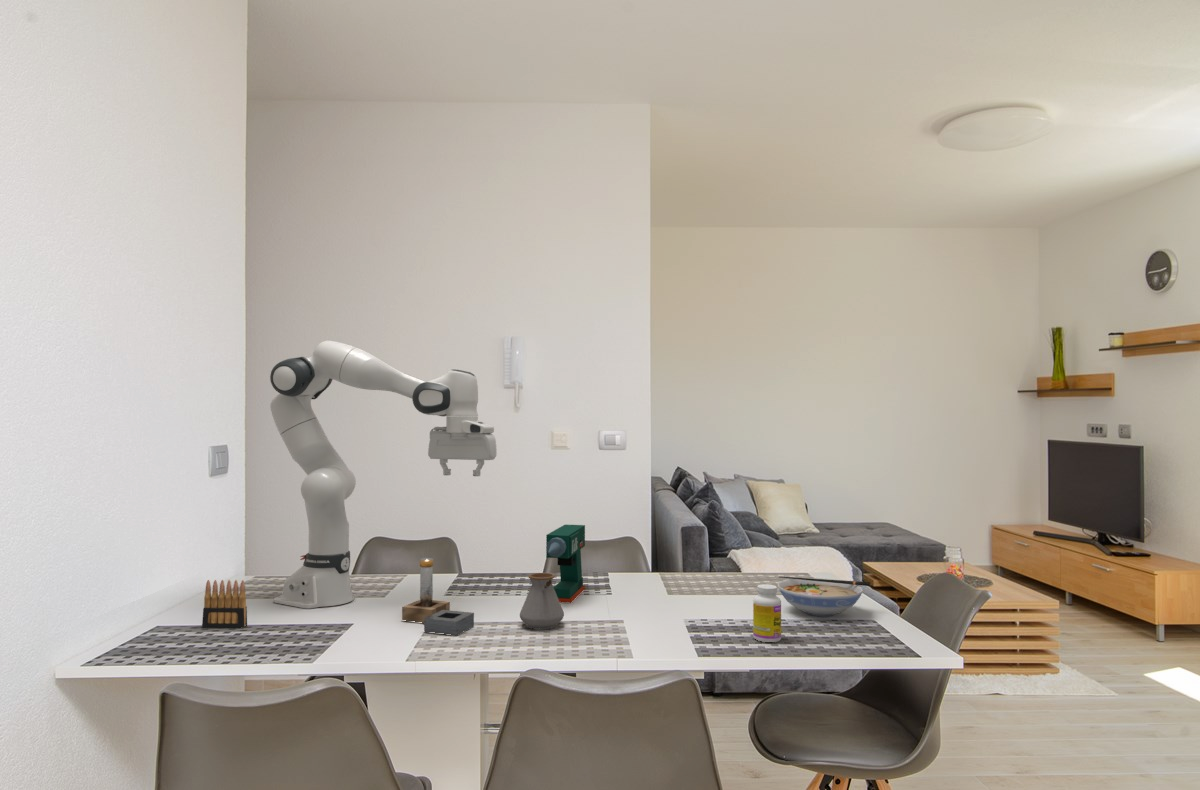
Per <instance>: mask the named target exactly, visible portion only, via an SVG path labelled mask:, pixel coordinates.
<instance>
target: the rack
mask: <svg viewBox="0 0 1200 790" xmlns="http://www.w3.org/2000/svg"><path fill="white" fill-rule="evenodd" d="M401 609H402V610H401V621H402V620H406V621H415V622H422V623H424V618H426V617H429V616H431V615H433V614H435V613H437V612H439V611H441V610H451V601H445V600H433V599H432V607H420V599H418V600H415V601H412V602H411V603H408V604H405V605H403V606H402V608H401Z"/></svg>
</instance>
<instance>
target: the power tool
mask: <svg viewBox="0 0 1200 790" xmlns="http://www.w3.org/2000/svg"><path fill="white" fill-rule="evenodd" d="M585 539H586V525H585V524H564V525H562V526H560V527H557V528H556V529H554V530H553V531H551V532H549V533H547V534H546V540H545V541H546V542H545V544H546V546H545V549H546V551H545V553H546V555H545V556H546V557H545V558H547V559H549V558H550V559H557V566H559V575H560V581H559V582H558V583H556V584H554V585H553V587H554V590H555V592H556V595H557V597H558V600H559V602H560V603H562V602H570V603H569V604H572V603H573V602H574V601H575V600H576V599H577V598H578V597H579V596H578V595H579V594H580V593H581V592H582V591H583V590H584V589H585V590H586V585H585V584H584V577H583V573H582V572H583V571H582V554H581V552H582V551H581V550H582V549H583V548H584V547H585V546H586V540H585ZM583 592H584V591H583ZM583 592H582V593H583ZM582 593H581V594H582ZM581 594H580V595H581ZM577 596H578V597H577ZM576 597H577V598H576ZM575 598H576V599H575ZM574 599H575V600H574ZM573 600H574V601H573ZM572 601H573V602H572ZM571 602H572V603H571Z"/></svg>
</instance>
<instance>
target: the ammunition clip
mask: <svg viewBox="0 0 1200 790" xmlns="http://www.w3.org/2000/svg"><path fill="white" fill-rule="evenodd" d="M220 581H221V582H220V583H219V588H218V582H217V580H216V579H214V581H213V584H212V589H211V581H210V579H208V580H207V581H206V583H205V591H204V592H205V593H204V600H203V602H204V603H203V604H204V605H203V609H202V622H201V629H242V628H241V627H245V626H246V627H248V609H247V608H248V607H247V596H246V583H245V580H243V579H242V580H241V581H240V587H239V584H238V580H237V579H235V580H234V583H233V587H232V582H231V580H230V579H228V581H227V584H226V587H225V581H224V580H223V579H221V580H220ZM218 589H219V590H218ZM225 590H226V591H225ZM232 590H233V591H232ZM246 627H245V628H246Z"/></svg>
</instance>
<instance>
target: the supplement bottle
mask: <svg viewBox="0 0 1200 790" xmlns="http://www.w3.org/2000/svg"><path fill="white" fill-rule="evenodd" d="M756 589H757V594H756V595H755V597H754V598H753V600H752V601H753V603H752V607H753V610H752V611H753V615H752V616H753V620H752V621H753V622H752V626H753V627H752V628H753V629H752V631H753V633H752V634H753V635H752V636H753V639H754V640H755V639H756V640H755V641H757V640H758V641H757V642H760V641H762V643H765V642H775V643H778V642H780V641H781V639H782V601H781V598H779V596H777V592H778V585H777V586H776V585H774V584H767V583H766V584H764V583H763V584H759V585H757V587H756Z"/></svg>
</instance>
